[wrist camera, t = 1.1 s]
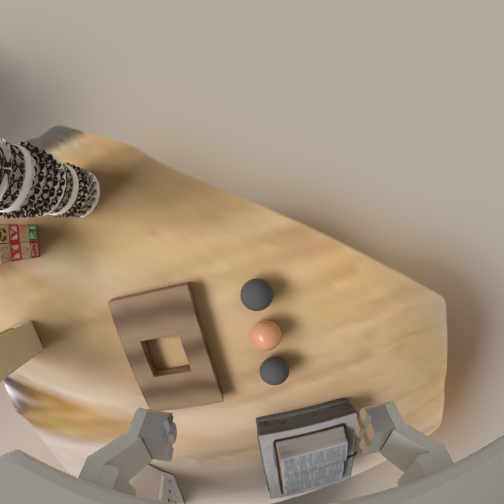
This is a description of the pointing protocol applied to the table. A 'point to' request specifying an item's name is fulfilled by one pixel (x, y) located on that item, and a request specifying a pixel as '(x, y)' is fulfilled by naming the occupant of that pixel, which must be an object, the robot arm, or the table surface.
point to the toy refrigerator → (17, 347)
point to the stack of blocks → (18, 242)
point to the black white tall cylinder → (43, 184)
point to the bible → (307, 447)
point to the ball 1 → (256, 294)
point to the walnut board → (162, 325)
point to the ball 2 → (274, 371)
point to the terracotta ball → (266, 335)
